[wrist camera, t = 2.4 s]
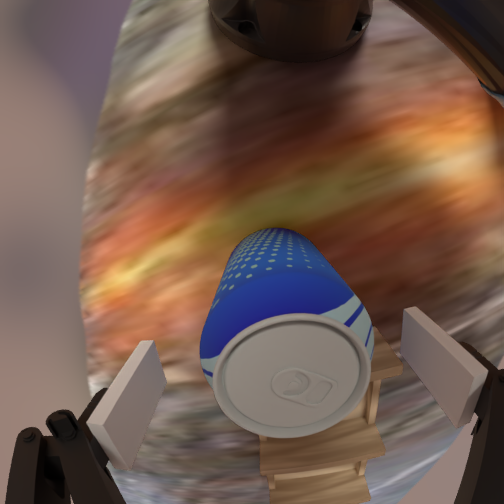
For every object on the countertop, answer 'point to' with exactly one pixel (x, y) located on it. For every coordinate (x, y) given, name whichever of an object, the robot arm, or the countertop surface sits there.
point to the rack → (331, 448)
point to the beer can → (285, 338)
